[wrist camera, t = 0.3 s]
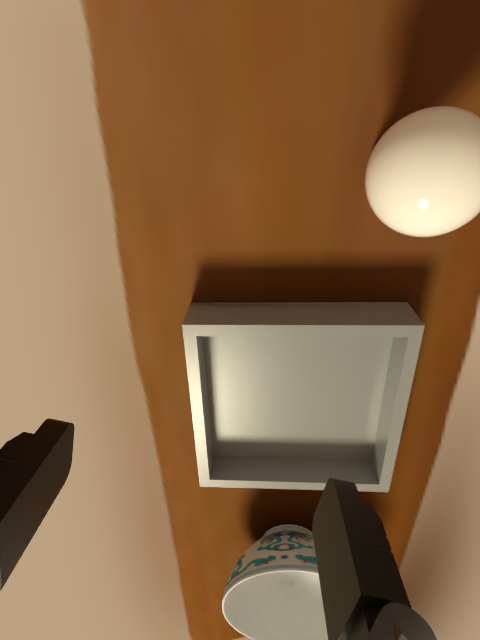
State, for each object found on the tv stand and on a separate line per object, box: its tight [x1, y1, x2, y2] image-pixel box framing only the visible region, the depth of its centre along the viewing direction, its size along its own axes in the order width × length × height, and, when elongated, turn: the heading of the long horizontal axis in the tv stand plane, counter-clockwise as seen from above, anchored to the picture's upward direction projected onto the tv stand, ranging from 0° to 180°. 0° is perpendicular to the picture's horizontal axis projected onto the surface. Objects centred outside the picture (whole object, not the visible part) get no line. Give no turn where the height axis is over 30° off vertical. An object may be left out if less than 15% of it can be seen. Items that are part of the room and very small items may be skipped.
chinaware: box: [222, 524, 328, 640], centre depth 45 cm, size 15×15×8 cm
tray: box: [182, 302, 425, 492], centre depth 36 cm, size 18×18×4 cm
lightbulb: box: [365, 106, 480, 237], centre depth 23 cm, size 6×6×11 cm
